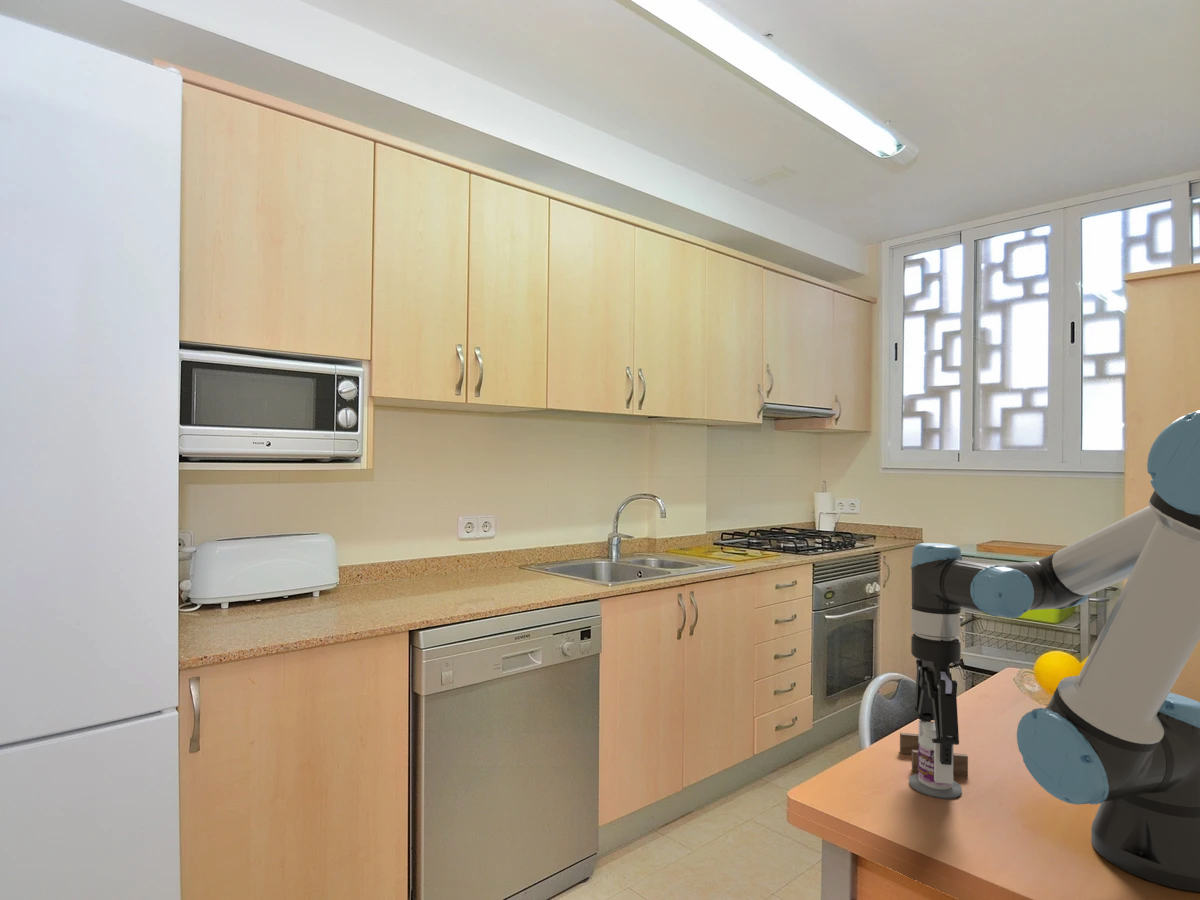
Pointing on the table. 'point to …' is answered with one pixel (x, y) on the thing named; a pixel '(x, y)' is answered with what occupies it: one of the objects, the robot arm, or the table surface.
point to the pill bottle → (928, 758)
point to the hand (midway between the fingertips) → (935, 770)
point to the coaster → (944, 794)
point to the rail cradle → (911, 747)
